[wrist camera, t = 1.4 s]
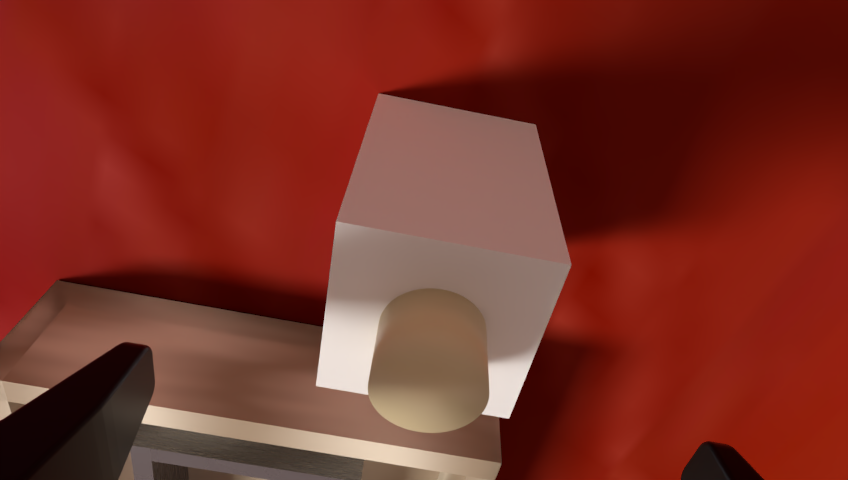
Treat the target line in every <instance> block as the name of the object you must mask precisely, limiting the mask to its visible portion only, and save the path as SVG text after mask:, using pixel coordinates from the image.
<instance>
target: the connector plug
mask: <svg viewBox="0 0 848 480" xmlns="http://www.w3.org/2000/svg"><path fill="white" fill-rule="evenodd" d="M570 267H571V262H570V258H569V254H568V250H567V246H566V242H565V238H564V234H563V230H562V226H561V222H560V218H559V214H558V211H557V207H556V203H555V199H554V195H553V191H552V187H551V183H550V179H549V175H548V171H547V167H546V163H545V159H544V155H543V151H542V147H541V143H540V139H539V135H538V132H537V128H536V124H531V123H526V122H521V121H516V120H511V119H506V118H501V117H496V116H491V115H486V114H481V113H475V112H470V111H465V110H460V109H455V108H450V107H445V106H440V105H435V104H430V103H425V102H420V101H415V100H410V99H405V98H400V97H395V96H390V95H385V94H380V93H379V94H378V97H377V100H376V103H375V106H374V109H373V112H372V115H371V118H370V121H369V124H368V127H367V130H366V133H365V136H364V139H363V142H362V145H361V148H360V151H359V154H358V157H357V160H356V163H355V166H354V169H353V172H352V175H351V178H350V181H349V184H348V187H347V190H346V193H345V196H344V199H343V202H342V205H341V208H340V211H339V214H338V217H337V220H336V227H335V235H334V243H333V251H332V259H331V267H330V275H329V283H328V292H327V300H326V308H325V316H324V324H323V332H322V340H321V348H320V356H319V364H318V372H317V380H316V386H319V387H325V388H330V389H336V390H342V391H348V392H354V393H360V394H366V395H369V399H370V401H371V403H372V405H373V406H374V408H375V409H376V410H377V412H378V413H379V414H380V415H381V416H383V417H384V418H385V419H386V420H388V421H389V422H391V423H393V424H395V425H397V426H399V427H402V428H405V429H408V430H412V431H416V432H424V433H441V432H448V431H452V430H456V429H459V428H461V427H464V426H466V425H468V424H469V423H471V422H473V421H474V420H475V419H476V418H478V417H479V416H480V415H481V414H484V415H490V416H495V417H501V418H507V419H509V418H510V415H511V413H512V410H513V408H514V406H515V403H516V401H517V398H518V396H519V393H520V391H521V388H522V386H523V383H524V381H525V378H526V376H527V373H528V371H529V368H530V366H531V364H532V361H533V359H534V356H535V354H536V351H537V349H538V346H539V344H540V341H541V339H542V336H543V334H544V331H545V329H546V326H547V324H548V321H549V319H550V317H551V314H552V312H553V309H554V307H555V304H556V302H557V299H558V297H559V294H560V292H561V289H562V287H563V284H564V282H565V279H566V277H567V275H568V272H569V270H570Z"/></svg>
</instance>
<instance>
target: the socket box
mask: <svg viewBox="0 0 848 480" xmlns="http://www.w3.org/2000/svg"><path fill="white" fill-rule="evenodd" d="M322 332H323V327H321V326H315V325H309V324H304V323H298V322H292V321H286V320H281V319H275V318H269V317H264V316H258V315H252V314H246V313H241V312H235V311H229V310H224V309H218V308H212V307H207V306H201V305H195V304H189V303H184V302H178V301H172V300H167V299H161V298H155V297H149V296H144V295H138V294H132V293H127V292H121V291H115V290H110V289H104V288H98V287H92V286H87V285H81V284H75V283H70V282H64V281H58V280H57V281H56V282H55V283H54V284H53V285H52V286H51V287H50V289H49V290H48V291H47V292H46V293H45V294H44V295H43V296H42V297H41V298H40V299H39V301H38V302H37V303H36V304H35V305H34V306H33V307H32V308H31V309H30V310H29V311H28V313H27V314H26V315H25V316H24V317H23V318H22V319H21V320H20V321H19V322H18V323H17V325H16V326H15V327H14V328H13V329H12V330H11V331H10V332H9V333H8V334H7V335H6V337H5V338H4V339H3V340H2V341H1V342H0V420H2V419H4V418H5V417H7V416H8V415H10V414H11V413H13V412H14V411H16V410H18V409H19V408H21V407H22V406H24V405H25V404H27V403H28V402H30V401H31V400H33V399H35V398H36V397H38V396H39V395H41V394H42V393H44V392H45V391H47V390H49V389H50V388H52V387H53V386H55V385H56V384H58V383H59V382H61V381H62V380H64V379H66V378H67V377H69V376H70V375H72V374H73V373H75V372H76V371H78V370H80V369H81V368H83V367H84V366H86V365H87V364H89V363H90V362H92V361H94V360H95V359H97V358H98V357H100V356H101V355H103V354H104V353H106V352H107V351H109V350H111V349H112V348H114V347H115V346H117V345H118V344H120V343H123V342H131V343H137V344H143V345H147V346H149V347H150V348H151V350H152V354H153V364H154V375H155V387H154V392H153V395H152V398H151V401H150V403H149V405H148V408H147V410H146V413H145V415H144V418H143V420H142V423H141V425H140V428H139V430H138V433H137V435H136V438H135V440H134V443H133V445H132V448H131V450H130V453H129V455H128V458H127V460H126V462H125V465H124V467H123V470H122V472H121V475H120V477H119V479H118V480H495V478H496V476H497V474H498V471H499V469H500V466H501V464H502V458H501V442H500V426H499V417H495V416H490V415H484V414H481V415H480V416H479V417H478V418H476V419H475V420H474V421H473V422H471V423H469V424H468V425H466V426H464V427H461V428H459V429H456V430H452V431H448V432H441V433H424V432H416V431H412V430H408V429H405V428H402V427H399V426H397V425H395V424H393V423H391V422H389V421H388V420H386V419H385V418H384V417H383V416H381V415H380V414H379V413H378V412H377V410H376V409H375V408H374V406H373V405H372V403H371V401H370V399H369V395H366V394H360V393H354V392H348V391H342V390H336V389H330V388H325V387H319V386H316V380H317V372H318V364H319V356H320V348H321V340H322Z"/></svg>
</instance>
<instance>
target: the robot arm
mask: <svg viewBox="0 0 848 480" xmlns="http://www.w3.org/2000/svg"><path fill="white" fill-rule="evenodd" d="M154 387H155V375H154V364H153V354H152V350H151V348H150V347H149V346H147V345H143V344H137V343H131V342H123V343H120V344H118V345H117V346H115V347H114V348H112V349H111V350H109V351H107V352H106V353H104V354H103V355H101V356H100V357H98V358H97V359H95V360H94V361H92V362H90V363H89V364H87V365H86V366H84V367H83V368H81V369H80V370H78V371H76V372H75V373H73V374H72V375H70V376H69V377H67V378H66V379H64V380H62V381H61V382H59V383H58V384H56V385H55V386H53V387H52V388H50V389H49V390H47V391H45V392H44V393H42V394H41V395H39V396H38V397H36V398H35V399H33V400H31V401H30V402H28V403H27V404H25V405H24V406H22V407H21V408H19V409H18V410H16V411H14V412H13V413H11V414H10V415H8V416H7V417H5V418H4V419H2V420H0V480H118V479H119V477H120V475H121V472H122V470H123V467H124V465H125V462H126V460H127V458H128V455H129V453H130V450H131V448H132V445H133V443H134V440H135V438H136V435H137V433H138V430H139V428H140V425H141V423H142V420H143V418H144V415H145V413H146V410H147V408H148V405H149V403H150V401H151V398H152V395H153V392H154ZM681 480H764V479H763V478H762V477H761V476H760V475H759V474H758V473H757V472H756V471H755V470H754V469H753V468H752V467H751V465H750V464H749V463H748V462H747V461H746V460H745V459H744V458H743V457H742V456H741V455H740V454H739V453H738V452H737V451H736V450H735V449H734V448H733V447H731V446H729V445H727V444H721V443H716V442H710V441H708V442H704V443H702V444H701V445H700V447H699V448H698V449H697V451H696V452H695V454H694V455H693V457H692V458H691V459H690V461H689V462H688V464H687V465H686V467H685V468H684V470H683V472H682V476H681Z"/></svg>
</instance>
